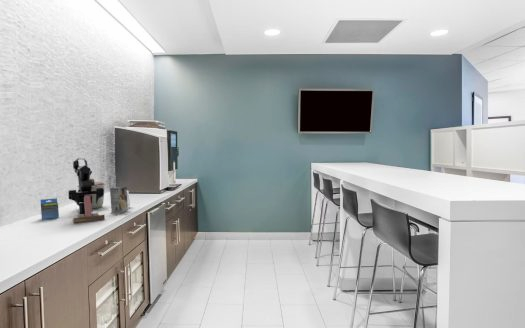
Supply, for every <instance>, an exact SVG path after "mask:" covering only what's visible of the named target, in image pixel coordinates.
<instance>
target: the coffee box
mask: <svg viewBox="0 0 525 328" xmlns="http://www.w3.org/2000/svg"><path fill="white" fill-rule="evenodd" d="M127 191H128V190H127V187H126V186H118V187H117V186H116V187H113V188H110V189H109V193H110V209H111V211H110V213H112V214H121V213H124V212H128V211H129V208H128V205H127Z"/></svg>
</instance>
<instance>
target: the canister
mask: <svg viewBox="0 0 525 328" xmlns="http://www.w3.org/2000/svg"><path fill="white" fill-rule="evenodd" d="M91 180H94V183H95V185H94V186H92V190H91V191H96V188H103V189H104V190H105V186H106V183H104V182H100V181H95V179H94V178H90V181H91ZM77 188H78V189H79V185H77ZM91 196H92V203H91V210H93V209H99V208H102V207H103V205H104V201H105V199H104V198H105V194H104V195H103V196H102V197H101V198H99V200H98V202H97V204H96V194H94V195H91ZM80 203H83V202H80Z"/></svg>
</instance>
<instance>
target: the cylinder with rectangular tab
mask: <svg viewBox="0 0 525 328" xmlns="http://www.w3.org/2000/svg"><path fill="white" fill-rule="evenodd" d="M130 200H131V199H130V190H127V205H128V209H129V208H131V201H130Z"/></svg>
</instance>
